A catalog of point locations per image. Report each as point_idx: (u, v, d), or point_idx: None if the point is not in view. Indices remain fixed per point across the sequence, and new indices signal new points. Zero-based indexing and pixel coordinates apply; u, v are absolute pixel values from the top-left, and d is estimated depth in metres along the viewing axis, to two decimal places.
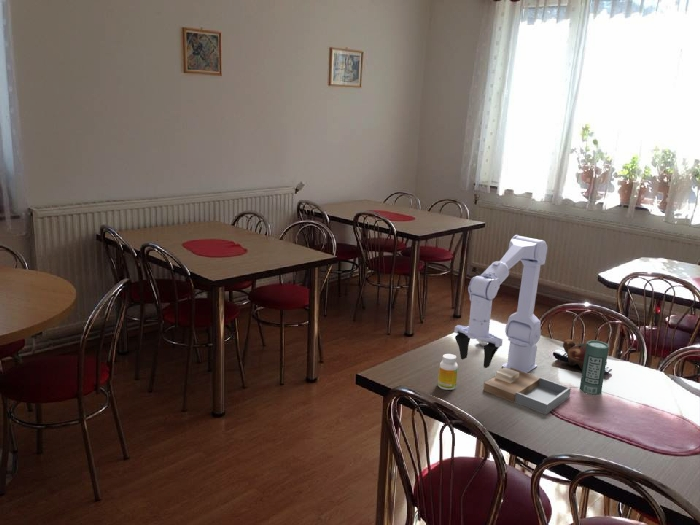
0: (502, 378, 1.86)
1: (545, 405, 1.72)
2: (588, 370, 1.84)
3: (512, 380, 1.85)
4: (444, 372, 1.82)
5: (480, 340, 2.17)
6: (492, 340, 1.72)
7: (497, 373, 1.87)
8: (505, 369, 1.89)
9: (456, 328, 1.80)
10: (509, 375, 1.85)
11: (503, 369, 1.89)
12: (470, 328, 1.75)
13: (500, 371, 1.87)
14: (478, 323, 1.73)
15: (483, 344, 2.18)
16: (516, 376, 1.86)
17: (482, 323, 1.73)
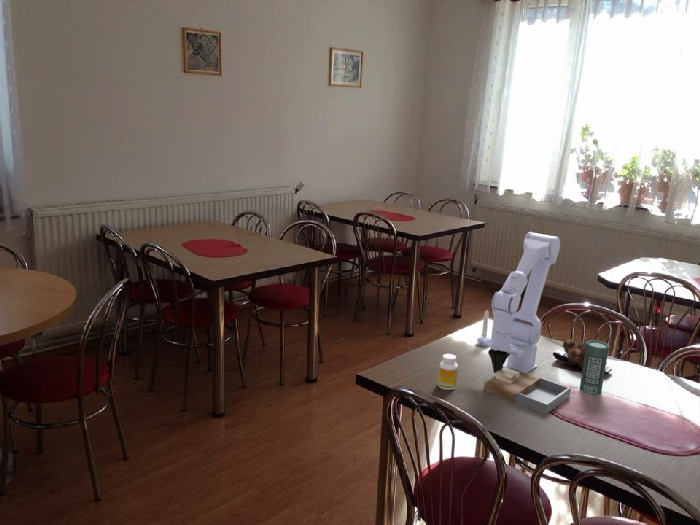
0: (502, 378, 1.86)
1: (545, 405, 1.72)
2: (588, 370, 1.84)
3: (512, 380, 1.85)
4: (444, 372, 1.82)
5: None
6: (514, 351, 1.83)
7: (497, 373, 1.87)
8: (505, 369, 1.89)
9: (479, 340, 1.91)
10: (509, 375, 1.85)
11: (503, 369, 1.89)
12: (493, 340, 1.86)
13: (500, 371, 1.87)
14: (501, 335, 1.84)
15: None
16: (516, 376, 1.86)
17: (504, 335, 1.84)
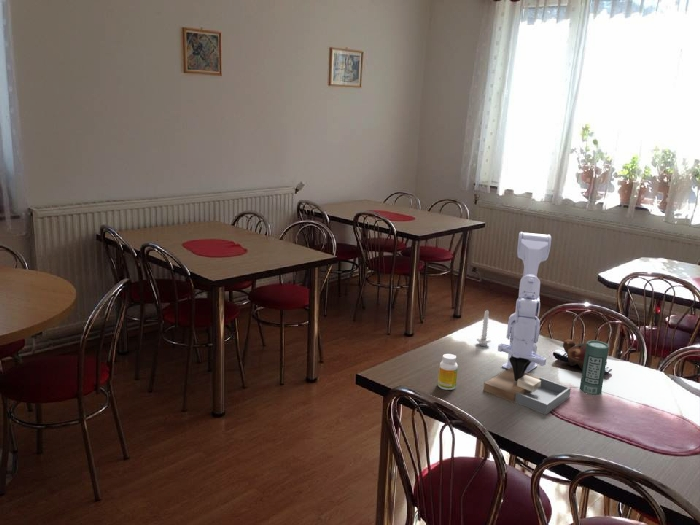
0: (524, 386, 1.81)
1: (545, 405, 1.72)
2: (588, 370, 1.84)
3: (534, 388, 1.80)
4: (444, 372, 1.82)
5: (480, 340, 2.17)
6: (536, 359, 1.78)
7: (519, 381, 1.82)
8: (526, 377, 1.84)
9: (500, 346, 1.86)
10: (531, 383, 1.81)
11: (524, 377, 1.84)
12: (514, 347, 1.81)
13: (522, 379, 1.83)
14: (522, 342, 1.79)
15: (483, 344, 2.18)
16: (538, 384, 1.82)
17: (526, 342, 1.79)
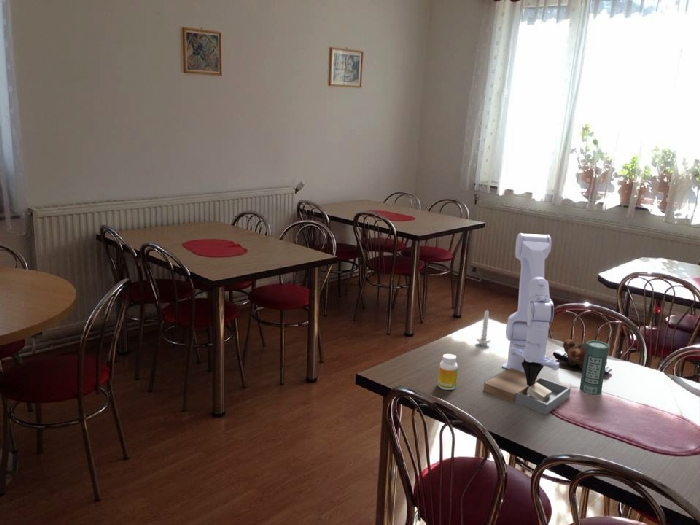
0: (534, 395, 1.79)
1: (545, 405, 1.72)
2: (588, 370, 1.84)
3: (543, 399, 1.78)
4: (444, 372, 1.82)
5: (480, 340, 2.17)
6: (549, 363, 1.76)
7: (529, 389, 1.80)
8: (537, 385, 1.82)
9: (512, 351, 1.84)
10: (542, 393, 1.79)
11: (535, 385, 1.82)
12: (527, 351, 1.79)
13: (533, 387, 1.81)
14: (535, 347, 1.76)
15: (483, 344, 2.18)
16: (548, 395, 1.80)
17: (539, 347, 1.76)
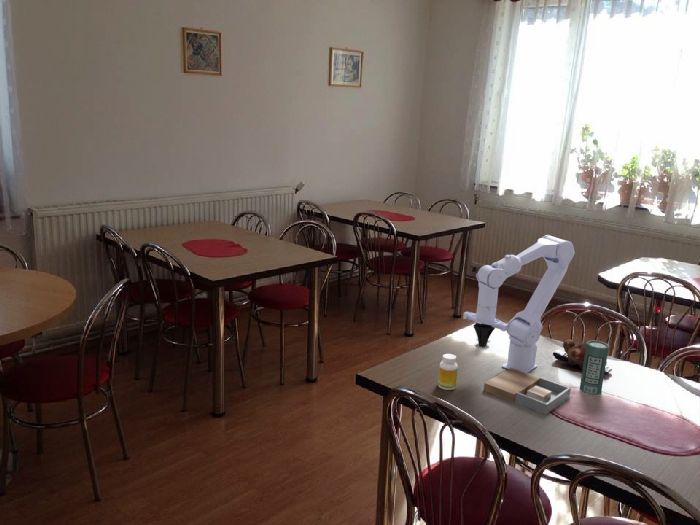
0: (534, 397, 1.79)
1: (545, 405, 1.72)
2: (588, 370, 1.84)
3: (544, 399, 1.78)
4: (444, 372, 1.82)
5: None
6: (498, 325, 1.86)
7: (528, 392, 1.80)
8: (537, 388, 1.82)
9: (465, 314, 1.94)
10: (541, 394, 1.79)
11: (534, 388, 1.82)
12: (478, 314, 1.89)
13: (532, 390, 1.81)
14: (485, 309, 1.87)
15: None
16: (548, 395, 1.80)
17: (489, 309, 1.87)
